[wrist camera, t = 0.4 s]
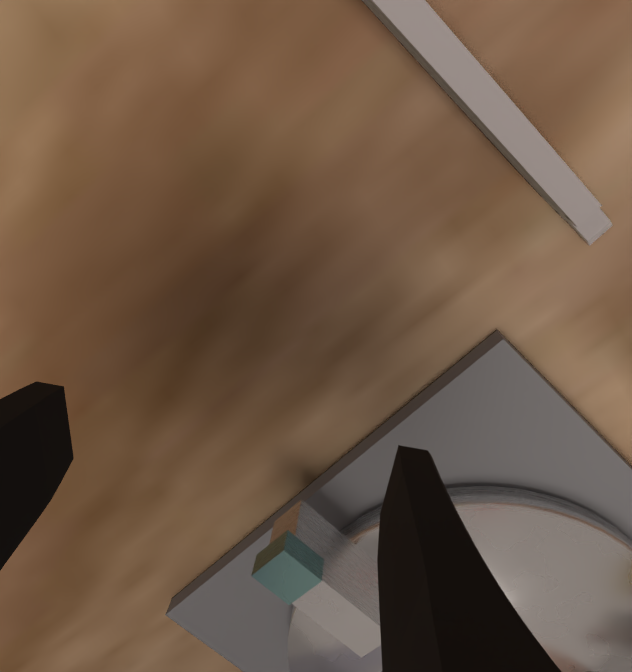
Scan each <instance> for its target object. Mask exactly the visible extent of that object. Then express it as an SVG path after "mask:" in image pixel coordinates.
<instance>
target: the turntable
mask: <svg viewBox="0 0 632 672" xmlns="http://www.w3.org/2000/svg"><path fill="white" fill-rule="evenodd" d="M446 490H447V492H448V494H449V496H450V498H451V500H452V502H453V504H454V506H455V508H456V510H457V512H458V514H459V516H460V518H461V520H462V522H463V524H464V525H465V527H466V529H467V531H468V533H469V535H470V537H471V538H472V540H473V542H474V544H475V546H476V547H477V549H478V551H479V553H480V554H481V556H482V558H483V560H484V561H485V563H486V565H487V566H488V568H489V569H490V571H491V573H492V574H493V576H494V578H495V579H496V581H497V583H498V584H499V586H500V587H501V589H502V590H503V592H504V593H505V595H506V596H507V598H508V599H509V601H510V602H511V604H512V605H513V607H514V608H515V610H516V611H517V613H518V614H519V616H520V617H521V618H522V620H523V621H524V623H525V624H526V625H527V627H528V628H529V630H530V631H531V633H532V634H533V635H534V637H535V638H536V639H537V641H538V642H539V643H540V645H541V646H542V647H543V648H544V650H545V651H546V652H547V654H548V655H549V656H550V658H551V659H552V660H553V662H554V663H555V664H556V665H557V667H558V668H559V669H560V670H561V671H562V672H632V540H630V539H629V538H628V537H627V536H626V535H624V534H623V533H622V532H621V531H620V530H618V529H617V528H616V527H615V526H614V525H612V524H610V523H609V522H607V521H606V520H604V519H602V518H601V517H599V516H598V515H596V514H594V513H593V512H591V511H588V510H586V509H584V508H582V507H580V506H577V505H575V504H573V503H571V502H568V501H565V500H562V499H559V498H556V497H553V496H549V495H546V494H543V493H538V492H533V491H527V490H522V489H517V488H506V487H494V486H468V487H455V488H447V489H446ZM381 508H382V506H381V507H379V508H377V509H375V510H373V511H371V512H369V513H367V514H365V515H363V516H361V517H360V518H358V519H357V520H355V521H354V522H352V523H351V524H349V525H348V526H346V527H345V528H343V529H342V530H341V531H339V530H338V529H336V528H335V527H334V526H333V525H332V524H330V523H329V522H328V521H327V520H326V519H324V518H323V517H322V516H321V515H320V514H318V513H317V512H316V511H315V510H314V509H312V508H311V507H310V506H309V505H308V504H306V503H305V502H304V501H303V500H302V499H301V500H300V501H299V502H297V503H296V504H295V505H294V506H293V507H291V508H290V509H289V510H288V511H287V512H285V513H284V514H283V515H282V516H280V517H279V518H278V519H277V520H276V521H274V526H273V530H272V534H271V539H270V543H269V545H268V546H267V547H266V548H264V549H263V550H262V551H261V552H259V553H258V554H257V555H256V559H255V563H254V567H253V571H252V575H251V576H252V577H253V578H254V579H256V580H257V581H258V582H260V583H261V584H262V585H263V586H265V587H266V588H267V589H269V590H270V591H271V592H272V593H274V594H275V595H276V596H278V597H279V598H280V599H281V600H283V601H284V602H285V603H287V604H288V605H290V604H291V603H292V604H293V609H292V615H291V621H290V628H289V635H288V654H287V656H288V663H289V670H290V672H382V655H381V634H380V613H379V591H378V567H377V555H378V538H379V523H380V512H381Z"/></svg>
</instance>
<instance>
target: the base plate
mask: <svg viewBox="0 0 632 672" xmlns="http://www.w3.org/2000/svg"><path fill="white" fill-rule="evenodd" d="M398 445H401V446H406V447H412V448H418V449H423V450H428V451H429V453H430V454H431V456H432V458H433V460H434V463H435V465H436V467H437V470H438V472H439V474H440V477H441V479H442V481H443V483H444V485H445V488H446V489H447V488H455V487H468V486H494V487H506V488H517V489H522V490H527V491H533V492H538V493H543V494H546V495H549V496H553V497H556V498H559V499H562V500H565V501H568V502H571V503H573V504H575V505H577V506H580V507H582V508H584V509H586V510H588V511H591V512H593V513H594V514H596V515H598V516H599V517H601V518H602V519H604V520H606V521H607V522H609V523H610V524H612V525H614V526H615V527H616V528H617V529H618V530H620V531H621V532H622V533H623V534H624V535H626V536H627V537H628V538H629V539H630V540H632V466H631V465H630V464H629V463H628V462H627V461H626V460H625V459H624V458H623V457H622V456H621V455H620V454H619V453H618V452H617V451H616V450H615V449H614V448H613V447H612V446H611V445H610V444H609V443H608V442H607V441H606V440H605V439H604V438H603V437H602V436H601V435H600V434H599V433H598V432H597V431H596V430H595V429H594V428H593V427H592V426H591V425H590V424H589V423H588V422H587V421H586V420H585V419H584V418H583V417H582V415H581V414H580V413H579V412H578V411H577V410H576V409H575V408H574V407H573V406H572V405H571V404H570V403H569V402H568V401H567V400H566V399H565V398H564V397H563V396H562V395H561V394H560V393H559V392H558V391H557V390H556V389H555V388H554V387H553V386H552V385H551V384H550V383H549V382H548V381H547V380H546V379H545V378H544V377H543V376H542V375H541V374H540V373H539V372H538V371H537V370H536V369H535V368H534V367H533V366H532V365H531V364H530V363H529V362H528V361H527V360H526V359H525V358H524V356H523V355H522V354H521V353H520V352H519V351H518V350H517V349H516V348H515V347H514V346H513V345H512V344H511V343H510V342H509V341H508V340H507V339H506V338H505V337H504V336H503V335H502V334H501V333H500V332H499V331H498V330H496V331H495V332H494V333H492V334H491V335H490V336H489V337H488V338H486V339H485V340H484V341H483V342H482V343H480V344H479V345H478V346H477V347H476V348H474V349H473V350H472V351H471V352H470V353H468V354H467V355H466V356H465V357H463V358H462V359H461V360H460V361H459V362H457V363H456V364H455V365H454V366H453V367H451V368H450V369H449V370H448V371H447V372H445V373H444V374H443V375H442V376H441V377H439V378H438V379H437V380H436V381H434V382H433V383H432V384H431V385H430V386H428V387H427V388H426V389H425V390H424V391H422V392H421V393H420V394H419V395H418V396H416V397H415V398H414V399H413V400H411V401H410V402H409V403H408V404H407V405H405V406H404V407H403V408H402V409H401V410H399V411H398V412H397V413H396V414H395V415H393V416H392V417H391V418H390V419H389V420H387V421H386V422H385V423H384V424H382V425H381V426H380V427H379V428H378V429H376V430H375V431H374V432H373V433H372V434H370V435H369V436H368V437H367V438H366V439H364V440H363V441H362V442H361V443H359V444H358V445H357V446H356V447H355V448H353V449H352V450H351V451H350V452H349V453H347V454H346V455H345V456H344V457H343V458H341V459H340V460H339V461H338V462H337V463H335V464H334V465H333V466H332V467H330V468H329V469H328V470H327V471H326V472H324V473H323V474H322V475H321V476H320V477H318V478H317V479H316V480H315V481H314V482H312V483H311V484H310V485H309V486H308V487H306V488H305V489H304V490H303V491H301V492H300V493H299V494H298V495H297V496H295V497H294V498H293V499H292V500H291V501H289V502H288V503H287V504H286V505H285V506H283V507H282V508H281V509H280V510H278V511H277V512H276V513H275V514H274V515H272V516H271V517H270V518H269V519H268V520H266V521H265V522H264V523H263V524H262V525H260V526H259V527H258V528H257V529H256V530H254V531H253V532H252V533H251V534H249V535H248V536H247V537H246V538H245V539H243V540H242V541H241V542H240V543H239V544H237V545H236V546H235V547H234V548H233V549H231V550H230V551H229V552H228V553H226V554H225V555H224V556H223V557H222V558H220V559H219V560H218V561H217V562H216V563H214V564H213V565H212V566H211V567H210V568H208V569H207V570H206V571H205V572H204V573H202V574H201V575H200V576H199V577H197V578H196V579H195V580H194V581H193V582H191V583H190V584H189V585H188V586H187V587H185V588H184V589H183V590H182V591H181V592H179V593H178V594H177V595H176V596H175V597H173V598H172V600H171V602H170V605H169V607H168V610H167V612H166V616H168V617H169V618H170V619H172V620H173V621H174V622H176V623H177V624H179V625H180V626H181V627H183V628H184V629H185V630H187V631H188V632H190V633H191V634H192V635H194V636H195V637H196V638H198V639H199V640H201V641H202V642H203V643H205V644H206V645H207V646H209V647H210V648H212V649H213V650H214V651H216V652H217V653H218V654H220V655H221V656H223V657H224V658H225V659H227V660H228V661H229V662H231V663H232V664H234V665H235V666H236V667H238V668H239V669H240V670H242V671H243V672H290V670H289V663H288V656H287V654H288V635H289V628H290V621H291V615H292V609H293V604H292V603H291V604H290V605H288V604H287V603H285V602H284V601H283V600H281V599H280V598H279V597H278V596H276V595H275V594H274V593H272V592H271V591H270V590H269V589H267V588H266V587H265V586H263V585H262V584H261V583H260V582H258V581H257V580H256V579H254V578H253V577H252V576H251V575H252V571H253V567H254V563H255V559H256V555H257V554H258V553H259V552H261V551H262V550H263V549H264V548H266V547H267V546H268V545H269V543H270V539H271V534H272V530H273V526H274V521H276V520H277V519H278V518H279V517H280V516H282V515H283V514H284V513H285V512H287V511H288V510H289V509H290V508H291V507H293V506H294V505H295V504H296V503H297V502H299V501H300V500H301V499H302V500H303V501H304V502H305V503H306V504H308V505H309V506H310V507H311V508H312V509H314V510H315V511H316V512H317V513H318V514H320V515H321V516H322V517H323V518H324V519H326V520H327V521H328V522H329V523H330V524H332V525H333V526H334V527H335V528H336V529H338V530H339V531H341V530H342V529H343V528H345V527H346V526H348V525H349V524H351V523H352V522H354V521H355V520H357V519H358V518H360V517H361V516H363V515H365V514H367V513H369V512H371V511H373V510H375V509H377V508H379V507H381V506H382V505H383V501H384V497H385V494H386V490H387V486H388V482H389V479H390V475H391V471H392V468H393V464H394V460H395V456H396V453H397V449H398Z"/></svg>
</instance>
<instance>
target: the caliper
mask: <svg viewBox="0 0 632 672" xmlns="http://www.w3.org/2000/svg"><path fill="white" fill-rule="evenodd" d="M362 1H363V2H364V3H365V4H366V5H367V7H368V8H369V9H370V10H371V11H372V12H373V13H374V14H375V15H376V16H377V17H378V19H379V20H380V21H381V22H382V23H383V24H384V25H385V26H386V27H387V28H388V30H389V31H390V32H391V33H392V34H393V35H394V36H395V37H396V38H397V39H398V40H399V42H400V43H401V44H402V45H403V46H404V47H405V48H406V49H407V50H408V51H409V52H410V54H411V55H412V56H413V57H414V58H415V59H416V60H417V61H418V62H419V63H420V64H421V66H422V67H423V68H424V69H425V70H426V71H427V72H428V73H429V74H430V75H431V76H432V78H433V79H434V80H435V81H436V82H437V83H438V84H439V85H440V86H441V87H442V89H443V90H444V91H445V92H446V93H447V94H448V95H449V96H450V97H451V98H452V99H453V101H454V102H455V103H456V104H457V105H458V106H459V107H460V108H461V109H462V110H463V112H464V113H465V114H466V115H467V116H468V117H469V118H470V119H471V120H472V121H473V122H474V124H475V125H476V126H477V127H478V128H479V129H480V130H481V131H482V132H483V133H484V135H485V136H486V137H487V138H488V139H489V140H490V141H491V142H492V143H493V144H494V146H495V147H496V148H497V149H498V150H499V151H500V152H501V153H502V154H503V155H504V156H505V158H506V159H507V160H508V161H509V162H510V163H511V164H512V165H513V166H514V167H515V169H516V170H517V171H518V172H519V173H520V174H521V175H522V176H523V177H524V178H525V179H526V181H527V182H528V183H529V184H530V185H531V186H532V187H533V188H534V189H535V190H536V191H537V192H538V193H539V195H540V196H541V197H542V198H543V199H544V200H545V201H546V202H547V203H548V204H549V205H550V206H551V207H552V208H553V209H554V210H555V211H556V212H557V213H558V214H559V215H560V216H561V217H562V218H563V219H564V220H566V221H567V222H568V223H569V224H570V225H571V227H572V228H573V229H574V230H575V231H576V232H577V233H578V234H579V235H580V237H581V238H582V239H583V240H584V241H585V242H586V243H587V244H588V245H591V244H592V243H593V242H594V241H595V240H597V239H598V238H599V237H600V236H601V235H602V234H603V233H604V232H606V231H607V230H608V229H609V228H610V227H611V226H612V223H611V221H610V220H609V218H608V217H607V216H606V215H605V214H604V213H603V211H602V210H601V209H600V207H601V206H602V205H601V204H600V203H599V202H598V201H597V199H596V198H595V197H594V196H593V195H592V194H591V192H590V191H589V190H588V189H587V188H586V187H585V185H584V184H583V183H582V182H581V181H580V180H579V178H578V177H577V176H576V175H575V174H574V173H573V171H572V170H571V169H570V168H569V167H568V166H567V164H566V163H565V162H564V161H563V160H562V159H561V158H560V156H559V155H558V154H557V153H556V152H555V151H554V149H553V148H552V147H551V146H550V145H549V144H548V142H547V141H546V140H545V139H544V138H543V137H542V135H541V134H540V133H539V132H538V131H537V130H536V128H535V127H534V126H533V125H532V124H531V123H530V121H529V120H528V119H527V118H526V117H525V116H524V115H523V113H522V112H521V111H520V110H519V109H518V108H517V106H516V105H515V104H514V103H513V102H512V101H511V99H510V98H509V97H508V96H507V95H506V94H505V92H504V91H503V90H502V89H501V88H500V87H499V86H498V84H497V83H496V82H495V81H494V80H493V79H492V77H491V76H490V75H489V74H488V73H487V72H486V70H485V69H484V68H483V67H482V66H481V65H480V63H479V62H478V61H477V60H476V59H475V58H474V57H473V55H472V54H471V53H470V52H469V51H468V50H467V48H466V47H465V46H464V45H463V44H462V43H461V41H460V40H459V39H458V38H457V37H456V36H455V34H454V33H453V32H452V31H451V30H450V29H449V28H448V26H447V25H446V24H445V23H444V22H443V21H442V19H441V18H440V17H439V16H438V15H437V14H436V12H435V11H434V10H433V9H432V8H431V7H430V6H429V4H428V3H427V2H426V1H425V0H362Z"/></svg>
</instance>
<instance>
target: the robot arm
mask: <svg viewBox="0 0 632 672" xmlns="http://www.w3.org/2000/svg"><path fill="white" fill-rule="evenodd" d="M72 460H73V451H72V444H71V436H70V429H69V422H68V414H67V407H66V400H65V393H64V386H58V385H52V384H47V383H41V382H34V383H32V384H30V385H28V386H26V387H24V388H22V389H19V390H17V391H15V392H13V393H11V394H10V395H8V396H6V397H4V398H2V399H0V570H1V569H2V567H3V566H4V565H5V563H6V562H7V560H8V559H9V558H10V556H11V555H12V554H13V552H14V551H15V549H16V548H17V547H18V545H19V544H20V543H21V541H22V540H23V539H24V537H25V536H26V534H27V533H28V532H29V530H30V529H31V527H32V526H33V525H34V523H35V522H36V520H37V519H38V518H39V516H40V515H41V513H42V512H43V511H44V509H45V508H46V506H47V505H48V503H49V502H50V501H51V499H52V497H53V495H54V494H55V492H56V490H57V488H58V486H59V485H60V483H61V481H62V479H63V477H64V475H65V473H66V472H67V470H68V468H69V466H70V464H71V462H72ZM377 567H378V591H379V613H380V634H381V655H382V672H562V671H561V670H560V669H559V668H558V667H557V665H556V664H555V663H554V662H553V660H552V659H551V658H550V656H549V655H548V654H547V652H546V651H545V650H544V648H543V647H542V646H541V645H540V643H539V642H538V641H537V639H536V638H535V637H534V635H533V634H532V633H531V631H530V630H529V628H528V627H527V625H526V624H525V623H524V621H523V620H522V618H521V617H520V616H519V614H518V613H517V611H516V610H515V608H514V607H513V605H512V604H511V602H510V601H509V599H508V598H507V596H506V595H505V593H504V592H503V590H502V589H501V587H500V586H499V584H498V583H497V581H496V579H495V578H494V576H493V574H492V573H491V571H490V569H489V568H488V566H487V565H486V563H485V561H484V560H483V558H482V556H481V554H480V553H479V551H478V549H477V547H476V546H475V544H474V542H473V540H472V538H471V537H470V535H469V533H468V531H467V529H466V527H465V525H464V524H463V522H462V520H461V518H460V516H459V514H458V512H457V510H456V508H455V506H454V504H453V502H452V500H451V498H450V496H449V494H448V492H447V490H446V488H445V485H444V483H443V481H442V479H441V477H440V474H439V472H438V470H437V467H436V465H435V463H434V460H433V458H432V456H431V454H430V453H429V451H428V450H423V449H418V448H412V447H406V446H401V445H398V449H397V453H396V456H395V460H394V464H393V468H392V471H391V475H390V479H389V482H388V486H387V490H386V494H385V497H384V501H383V505H382V508H381V512H380V523H379V538H378V555H377Z"/></svg>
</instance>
